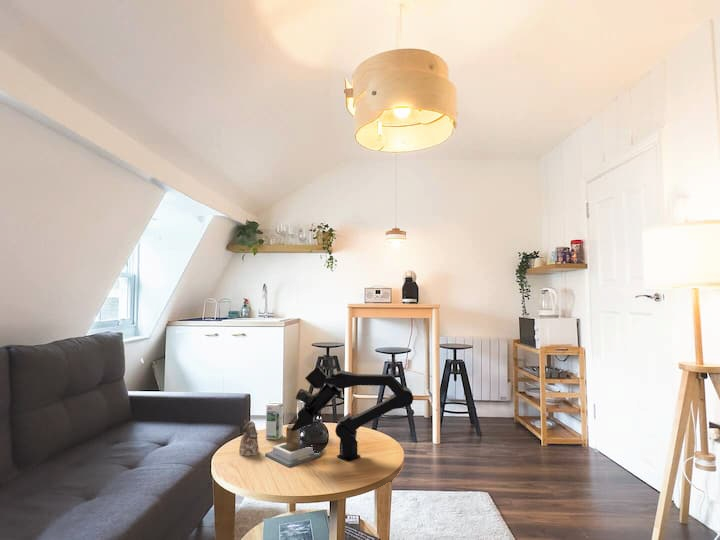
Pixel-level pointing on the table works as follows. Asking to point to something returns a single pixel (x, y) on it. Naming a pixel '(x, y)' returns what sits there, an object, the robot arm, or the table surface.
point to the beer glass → (299, 406)
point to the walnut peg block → (292, 438)
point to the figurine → (249, 440)
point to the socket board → (291, 455)
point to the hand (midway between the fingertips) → (294, 426)
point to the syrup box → (274, 420)
